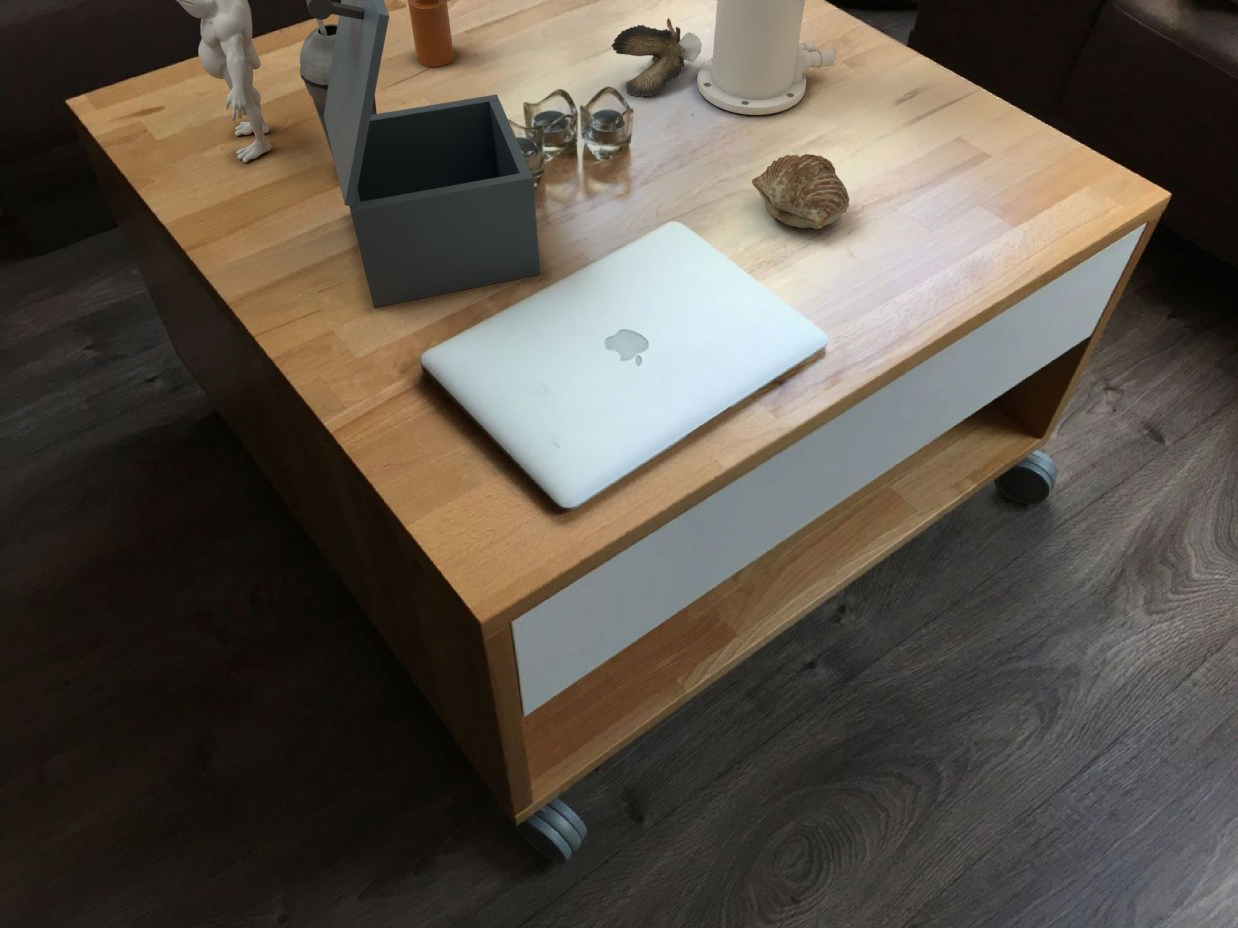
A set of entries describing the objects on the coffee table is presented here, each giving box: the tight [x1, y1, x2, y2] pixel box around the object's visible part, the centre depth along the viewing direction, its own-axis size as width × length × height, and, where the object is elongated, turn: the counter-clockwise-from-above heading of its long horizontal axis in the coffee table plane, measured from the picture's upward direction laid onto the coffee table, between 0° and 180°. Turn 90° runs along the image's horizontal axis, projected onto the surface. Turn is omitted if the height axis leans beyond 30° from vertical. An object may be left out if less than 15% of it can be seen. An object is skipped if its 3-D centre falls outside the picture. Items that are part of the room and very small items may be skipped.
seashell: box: [751, 153, 850, 230], centre depth 101 cm, size 9×7×8 cm
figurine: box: [175, 0, 272, 163], centre depth 104 cm, size 18×7×18 cm, turn 16°
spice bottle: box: [407, 0, 455, 68], centre depth 119 cm, size 4×4×10 cm
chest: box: [348, 94, 541, 308], centre depth 96 cm, size 16×14×11 cm
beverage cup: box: [299, 18, 378, 160], centre depth 101 cm, size 7×7×20 cm
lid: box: [305, 0, 390, 207], centre depth 84 cm, size 17×14×5 cm
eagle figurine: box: [610, 17, 702, 98], centre depth 118 cm, size 8×7×9 cm
